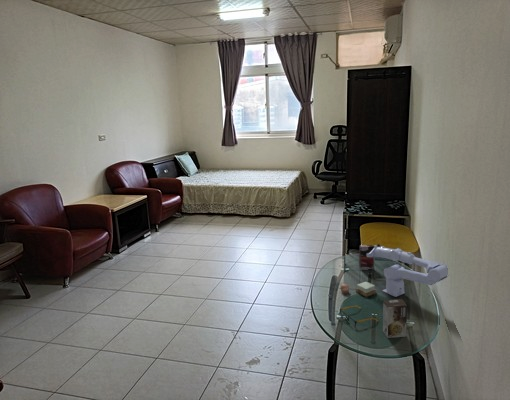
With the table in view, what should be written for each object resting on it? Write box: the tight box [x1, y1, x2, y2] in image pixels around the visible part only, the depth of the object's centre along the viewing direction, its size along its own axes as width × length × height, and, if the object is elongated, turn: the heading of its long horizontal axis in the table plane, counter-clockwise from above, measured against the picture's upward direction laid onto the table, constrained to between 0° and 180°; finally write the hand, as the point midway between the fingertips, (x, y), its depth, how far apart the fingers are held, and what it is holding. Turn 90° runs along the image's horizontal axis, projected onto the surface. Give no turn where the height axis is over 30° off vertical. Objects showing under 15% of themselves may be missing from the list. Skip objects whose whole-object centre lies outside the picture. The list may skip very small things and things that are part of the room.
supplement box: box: [358, 244, 375, 271], centre depth 252 cm, size 9×5×16 cm, turn 89°
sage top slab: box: [356, 281, 376, 293], centre depth 220 cm, size 7×7×2 cm
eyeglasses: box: [339, 305, 379, 327], centre depth 194 cm, size 14×14×4 cm
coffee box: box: [382, 298, 408, 339], centre depth 177 cm, size 9×6×16 cm
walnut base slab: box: [355, 287, 377, 298], centre depth 221 cm, size 8×8×2 cm
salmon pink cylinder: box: [340, 283, 350, 294], centre depth 223 cm, size 4×4×4 cm
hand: (364, 250), depth 232 cm, fingers open, 7 cm apart
